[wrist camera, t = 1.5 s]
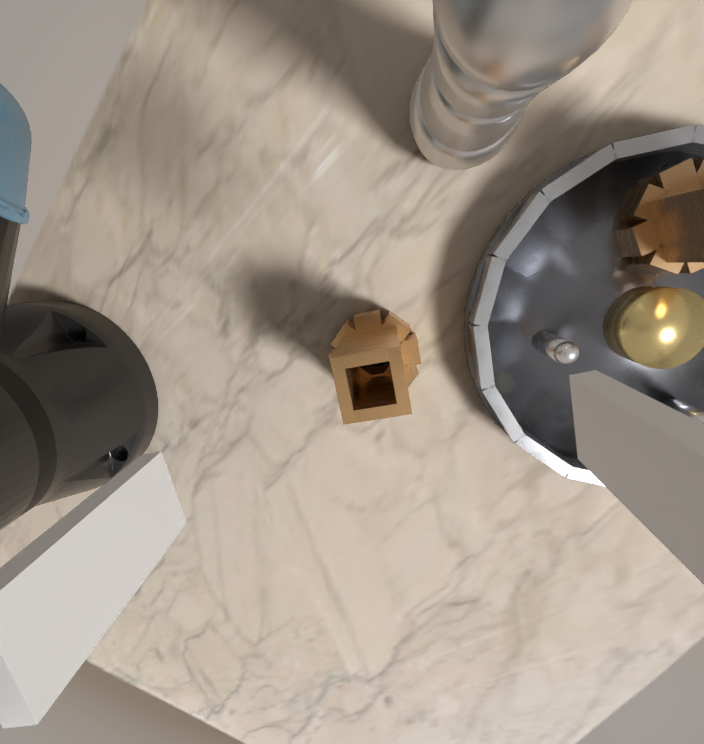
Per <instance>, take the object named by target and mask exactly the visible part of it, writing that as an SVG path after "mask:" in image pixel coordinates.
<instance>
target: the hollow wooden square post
mask: <svg viewBox="0 0 704 744" xmlns="http://www.w3.org/2000/svg"><path fill="white" fill-rule="evenodd" d="M353 319H354V323H352V322H351V321H350V320H348V319H347V320H346V322H345V323H344V325H343V326H342V328H341V329H340V331H339V332H338V334H337V335H336V337H335V338H334V340H333V341H332V342H331V344H330V345H332V346H333V347H335V348H332V349H331V351H330V352H329V354H328V355H329V360H330V364H331V369H332V374H333V378H334V382H335V386H336V391H337V396H338V400H339V405H340V410H341V414H342V419H343V424H350V423H356V422H363V421H369V420H375V419H382V418H388V417H394V416H401V415H407V414H412V411H411V405H410V399H409V393H408V387H409V386H410V384H411V383H412V382H413V380H414V379H415V378H416V376H417V375H418V374H419V373H418V369H417V366H416V365H417V364H421V360H420V354H419V348H418V341H417V337H416V335H415V333H413V334H409V332H410V331H411V327H410V325H409V324H407V323H406V322H404V321H403V320H402V319H400V318H399V317H397V316H396V315H394V314H393V313H391V312H390V311H389V312H388V314H387V315H386V317H385V318H384V320H383V321H382V319H381V313H380V309H378V310H372V311H367V312H362V313H356V314H355V315H354V317H353ZM381 362H386V363H385V365H384V366H379V367H373V368H372V367H370V366H369V365H370V364H375V363H381Z"/></svg>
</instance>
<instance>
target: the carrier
mask: <svg viewBox="0 0 704 744" xmlns="http://www.w3.org/2000/svg"><path fill="white" fill-rule="evenodd" d="M702 157H704V126H703V125H698V124H697V125H695V126H694V125H690V126H685V127H681V128H676V129H672V130H667V131H663V132H658V133H654V134H649V135H645V136H641V137H636V138H632V139H627V140H623V141H618V142H614V143H612V144H609V145H607V146H606V147H604V148H602V149H600V150H598V151H596V152H593V153H591V154H589V155H586V156H584V157H582V158H580V159H579V160H577V161H575V162H573V163H572V164H570V165H568V166H566V167H565V168H563V169H561V170H559V171H558V172H556V173H554V174H553V175H552V176H550V177H549V178H548V179H546V180H545V181H544V182H542V183H541V184H540V185H538V186H537V187H536V188H534V189H533V190H532V191H531V192H530V193H529V194H528V195H527V196H526V197H525V198H524V199H523V200H522V201H521V202H520V203H519V204H517V205H516V206H515V208H514V209H513V210H512V211H511V212H510V214H509V215H508V216H507V217H506V218H505V220H504V221H503V222H502V223H501V225H500V226H499V227H498V229H497V231H496V232H495V234H494V235H493V237H492V238H491V240H490V241H489V243H488V245H487V246H486V248H485V251H484V253H483V255H482V257H481V259H480V261H479V263H478V265H477V268H476V270H475V273H474V276H473V279H472V282H471V285H470V289H469V294H468V299H467V304H466V309H465V323H464V337H465V351H466V355H467V360H468V365H469V370H470V373H471V375H472V378H473V381H474V384H475V386H476V389H477V391H478V393H479V394H480V396H481V398H482V400H483V402H484V404H485V406H486V407H487V408H488V410H489V411H490V413H491V414H492V415H493V417H494V418H495V419H496V421H497V422H498V424H499V425H500V426H501V427H502V428H503V429H504V430H505V431H506V432H507V433H508V435H509V436H510V438H511V439H512V440H513V442H514V443H515V444H516V445H518V446H519V447H521V448H522V449H524V450H525V451H527V452H528V453H530V454H531V455H533V456H534V457H536V458H537V459H539V460H540V461H542V462H543V463H544V464H546V465H547V466H549V467H550V468H552V469H553V470H555V471H556V472H558V473H559V474H561V475H562V476H564V477H566V478H569V479H573V480H578V481H583V482H587V483H592V484H596V485H601V486H605V485H603V484H602V483H601V482H600V481H599V480H598V479H597V478H596V477H595V476H594V475H593V474H592V473H591V472H590V471H589V470H588V469H587V468H586V467H585V466H584V465H583V464H582V463H581V462H580V461H579V460H578V456H577V447H576V437H575V427H574V417H573V408H572V398H571V388H570V379H569V375H573V374H578V373H583V372H589V371H594V370H597V371H599V372H601V373H603V374H605V375H607V376H609V377H611V378H613V379H615V380H617V381H619V382H621V383H623V384H625V385H627V386H629V387H631V388H633V389H635V390H637V391H639V392H641V393H643V394H645V395H647V396H649V397H651V398H653V399H655V400H657V401H659V402H661V403H663V404H665V405H667V406H669V407H671V408H673V409H675V410H677V411H679V412H681V413H683V414H685V415H687V416H689V417H691V418H693V419H695V420H697V421H699V422H701V423H703V424H704V268H702V269H700V270H698V271H696V272H693V273H691V274H687V273H678V274H655V273H652V272H649V271H647V270H644V269H641V268H638V267H635V266H633V265H630V262H631V260H632V258H633V257H622V256H621V253H620V250H619V247H618V244H617V241H616V238H615V235H614V232H613V231H614V230H616V229H618V228H620V227H622V226H624V225H626V223H624V222H621V221H618V220H615V219H614V218H615V216H616V214H617V212H618V210H619V207H620V205H621V203H622V201H623V199H624V197H625V195H626V193H627V191H628V190H630V189H633V188H636V187H639V185H638V182H637V181H638V180H640V179H642V178H644V177H646V176H648V175H650V174H652V173H654V172H656V171H658V170H660V169H662V168H665V167H667V166H669V165H672V164H675V163H678V162H681V161H684V160H687V159H689V158H692V159H693V161H694V160H697V159H699V158H702Z"/></svg>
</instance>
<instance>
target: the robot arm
mask: <svg viewBox="0 0 704 744" xmlns="http://www.w3.org/2000/svg"><path fill="white" fill-rule="evenodd" d="M30 152H31V131H30V127H29V123H28V120H27V118H26V116H25V113H24V111H23V110H22V108H21V107H20V105H19V103H18V102H17V101H16V99H15V98H14V97H13V96H12V95H11V93H10V92H9V91H8V90H7V89H6V88H5V87H4V86H2V85H1V84H0V530H1V529H3V528H4V527H6V526H7V525H8V524H10V523H11V522H13V521H14V520H15V519H17V518H18V517H20V516H21V515H23V514H24V513H25V512H27V511H28V510H30V509H31V508H33V507H34V506H37V505H41V504H44V503H47V502H51V501H54V500H58V499H61V498H64V497H68V496H71V495H75V494H78V493H81V492H85V491H88V490H92V489H94V488H97V487H99V486H102V485H103V486H102V487H100V488H99V489H98V490H97V491H95V492H94V493H93V494H92V495H90V496H89V497H88V498H87V499H85V500H84V501H83V502H82V503H80V504H79V505H78V506H77V507H76V508H74V509H73V510H72V511H71V512H69V513H68V514H67V515H66V516H64V517H63V518H62V519H61V520H59V521H58V522H57V523H56V524H54V525H53V526H52V527H51V528H49V529H48V530H47V531H46V532H44V533H43V534H42V535H41V536H39V537H38V538H37V539H36V540H34V541H33V542H32V543H31V544H30V545H28V546H27V547H26V548H25V549H23V550H22V551H21V552H20V553H18V554H17V555H16V556H15V557H13V558H12V559H11V560H10V561H8V562H7V563H6V564H5V565H3V566H2V567H1V568H0V724H1V725H2V727H3V728H11V727H21V726H30V725H37V724H38V723H39V722H40V720H41V719H42V718H43V716H44V715H45V714H46V712H47V711H48V710H49V708H50V707H51V705H52V704H53V703H54V701H55V700H56V699H57V697H58V696H59V695H60V693H61V692H62V691H63V689H64V688H65V686H66V685H67V684H68V683H69V681H70V680H71V679H72V677H73V676H74V674H75V673H76V672H77V670H78V669H79V668H80V666H81V665H82V663H83V662H84V661H85V660H86V658H87V657H88V656H89V654H90V653H91V652H92V650H93V649H94V648H95V646H96V645H97V644H98V642H99V641H100V639H101V638H102V637H103V635H104V634H105V633H106V631H107V630H108V629H109V627H110V626H111V625H112V623H113V622H114V621H115V619H116V618H117V617H118V615H119V614H120V613H121V611H122V610H123V609H124V607H125V606H126V604H127V603H128V602H129V600H130V599H131V598H132V596H133V595H134V594H135V592H136V591H137V590H138V588H139V587H140V586H141V584H142V583H143V582H144V580H145V579H146V578H147V576H148V575H149V573H150V572H151V571H152V569H153V568H154V567H155V565H156V564H157V563H158V561H159V560H160V559H161V557H162V556H163V555H164V553H165V552H166V551H167V549H168V548H169V547H170V545H171V544H172V543H173V541H174V540H175V538H176V537H177V536H178V534H179V533H180V532H181V530H182V529H183V528H184V526H185V525H186V524H187V522H186V519H185V516H184V513H183V511H182V508H181V505H180V502H179V499H178V496H177V494H176V491H175V488H174V485H173V482H172V480H171V477H170V474H169V471H168V468H167V465H166V463H165V460H164V457H163V454H162V451H161V452H155V453H150V454H145V455H142V454H143V453H144V452H145V450H146V449H147V447H148V446H149V444H150V442H151V440H152V437H153V435H154V432H155V428H156V424H157V418H158V398H157V392H156V387H155V383H154V379H153V377H152V374H151V371H150V369H149V367H148V365H147V363H146V361H145V359H144V357H143V356H142V354H141V352H140V351H139V350H138V348H137V347H136V345H135V344H134V343H133V342H132V340H131V339H130V338H129V337H128V336H127V335H126V334H125V333H124V332H123V331H122V330H121V329H120V328H119V327H117V326H116V325H115V324H114V323H112V322H111V321H110V320H108V319H107V318H105V317H104V316H102V315H100V314H98V313H96V312H95V311H92V310H90V309H88V308H85V307H83V306H80V305H77V304H73V303H69V302H63V301H37V302H28V303H19V304H13V305H9V306H7V300H8V294H9V287H10V281H11V275H12V269H13V263H14V257H15V252H16V246H17V241H18V236H19V231H20V224H27V223H28V219H29V212H28V210H27V209H26V207H25V199H26V190H27V181H28V171H29V162H30ZM569 379H570V388H571V398H572V408H573V417H574V427H575V437H576V447H577V456H578V460H579V461H580V462H581V463H582V464H583V465H584V466H585V467H586V468H587V469H588V470H589V471H590V472H591V473H592V474H593V475H594V476H595V477H596V478H597V479H598V480H599V481H600V482H601V483H602V484H603V485H605V486H606V487H607V488H608V489H609V490H610V491H611V492H612V493H613V494H614V495H615V496H616V497H617V498H618V499H619V500H620V501H621V502H622V503H623V504H624V505H625V506H626V507H627V508H628V509H629V510H630V511H631V512H632V513H633V514H634V515H635V516H636V517H637V518H638V519H639V520H640V521H641V522H642V523H643V524H644V525H645V526H646V527H647V528H648V529H649V530H650V531H651V532H652V533H653V534H654V535H655V536H656V537H657V538H658V539H659V540H660V541H661V542H662V543H663V544H664V545H665V546H666V547H667V548H668V549H669V550H670V551H671V552H672V553H673V554H674V555H675V556H676V557H677V558H678V559H679V560H680V561H681V562H682V563H683V564H684V565H685V566H686V567H687V568H688V569H689V570H690V571H691V572H692V573H693V574H694V575H695V576H696V577H697V578H698V579H699V580H700V581H701V582H702V583H703V584H704V424H703V423H701V422H699V421H697V420H695V419H693V418H691V417H689V416H687V415H685V414H683V413H681V412H679V411H677V410H675V409H673V408H671V407H669V406H667V405H665V404H663V403H661V402H659V401H657V400H655V399H653V398H651V397H649V396H647V395H645V394H643V393H641V392H639V391H637V390H635V389H633V388H631V387H629V386H627V385H625V384H623V383H621V382H619V381H617V380H615V379H613V378H611V377H609V376H607V375H605V374H603V373H601V372H599V371H597V370H594V371H589V372H583V373H578V374H573V375H569Z"/></svg>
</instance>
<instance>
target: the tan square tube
mask: <svg viewBox="0 0 704 744" xmlns="http://www.w3.org/2000/svg"><path fill="white" fill-rule="evenodd" d="M637 182H638V185H639V187H636V188H633V189H630V190H628V191H627V193H626V195H625V197H624V199H623V201H622V203H621V205H620V207H619V210H618V212H617V214H616V216H615V218H614V219H615V220H618V221H621V222H624V223H626V225H624V226H622V227H620V228H618V229H616V230H614V231H613V232H614V235H615V238H616V241H617V244H618V247H619V250H620V253H621V256H622V257H633V258H632V260H631V262H630V265H633V266H635V267H638V268H641V269H644V270H647V271H649V272H652V273H655V274H678V273H687V274H691V273H693V272H696V271H698V270H700V269H702V268H704V157H702V158H699V159H697V160H694V161H693V159H692V158H689V159H687V160H684V161H681V162H678V163H675V164H672V165H669V166H667V167H665V168H662V169H660V170H658V171H656V172H654V173H652V174H650V175H648V176H646V177H644V178H642V179H640V180H638V181H637Z"/></svg>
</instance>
